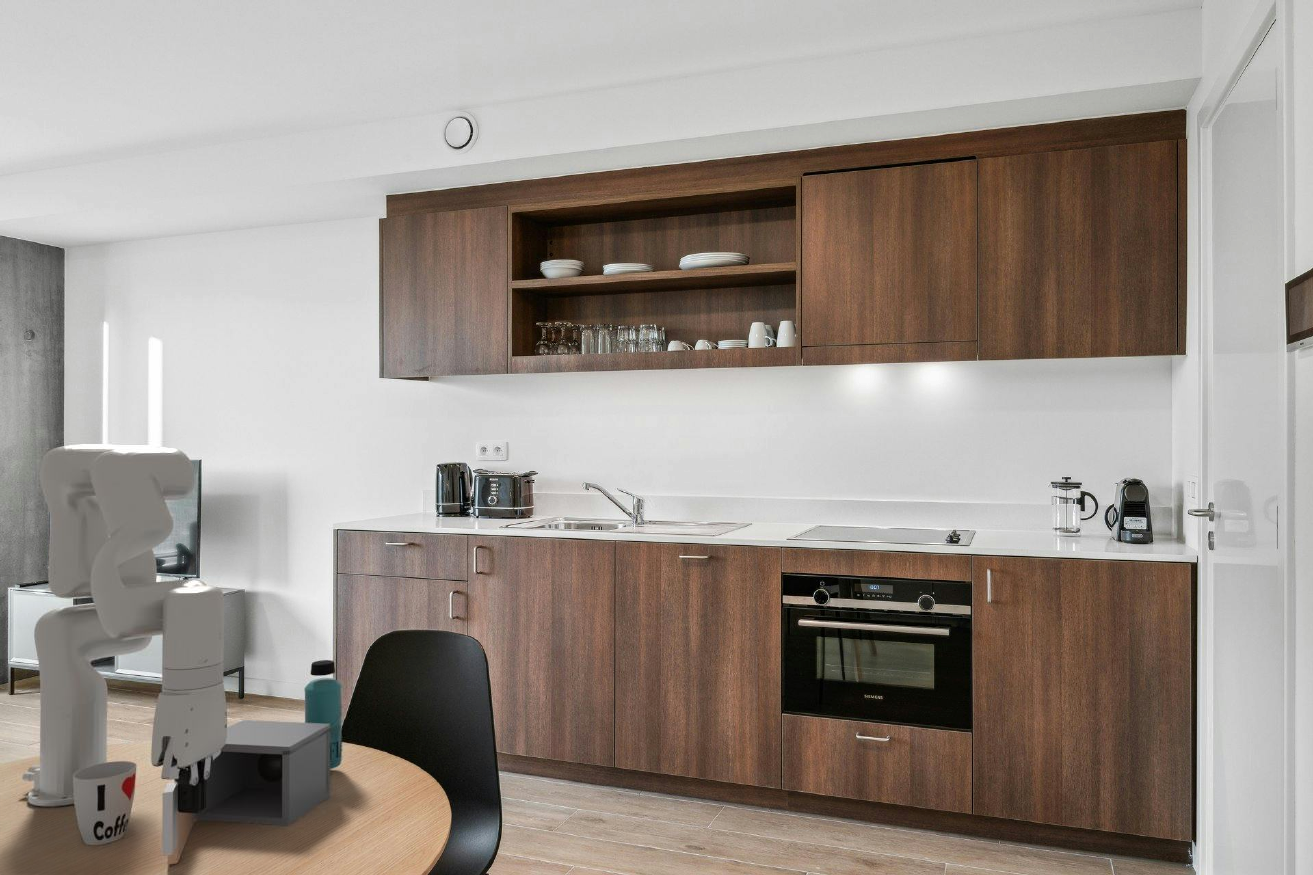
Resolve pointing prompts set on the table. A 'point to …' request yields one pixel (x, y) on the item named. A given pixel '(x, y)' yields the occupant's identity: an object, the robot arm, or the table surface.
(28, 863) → the table surface
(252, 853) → the table surface
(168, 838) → the door
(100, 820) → the cup
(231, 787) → the grey smooth box
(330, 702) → the beverage bottle
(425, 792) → the table surface
